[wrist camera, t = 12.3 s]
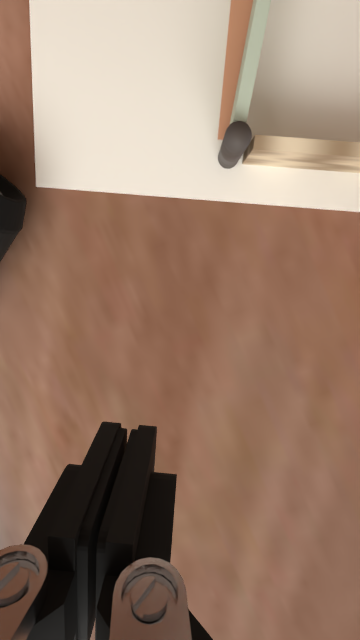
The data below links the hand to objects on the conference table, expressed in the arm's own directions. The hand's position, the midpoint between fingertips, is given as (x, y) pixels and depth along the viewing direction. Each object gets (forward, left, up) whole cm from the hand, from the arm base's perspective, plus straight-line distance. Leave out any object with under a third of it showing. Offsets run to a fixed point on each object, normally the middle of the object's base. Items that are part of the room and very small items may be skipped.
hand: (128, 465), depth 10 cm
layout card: (-2, -24, -27) cm, 36 cm away
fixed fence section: (-11, -14, -27) cm, 32 cm away
